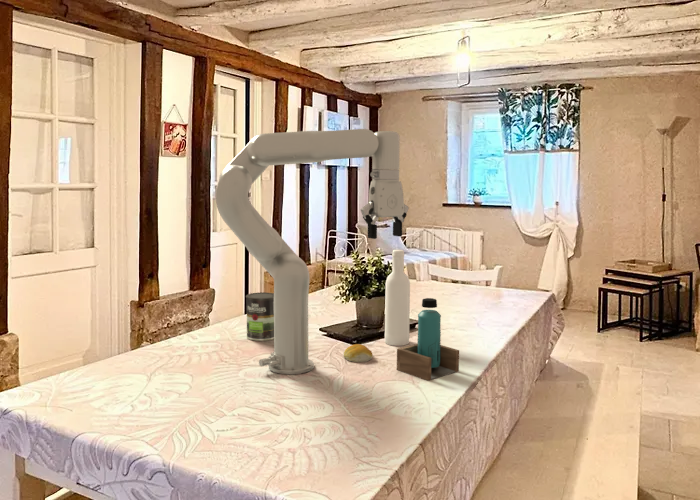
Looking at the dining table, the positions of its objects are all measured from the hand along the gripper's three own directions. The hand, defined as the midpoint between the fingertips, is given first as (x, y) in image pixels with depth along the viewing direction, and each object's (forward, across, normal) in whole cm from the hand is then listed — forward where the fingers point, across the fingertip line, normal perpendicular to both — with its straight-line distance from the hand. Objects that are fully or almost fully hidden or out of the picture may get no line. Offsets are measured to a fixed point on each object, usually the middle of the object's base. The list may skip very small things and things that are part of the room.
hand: (384, 237), depth 178 cm
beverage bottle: (+36, +4, -14) cm, 39 cm away
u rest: (+36, +4, -14) cm, 39 cm away
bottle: (+36, +17, +12) cm, 42 cm away
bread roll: (+37, -3, +7) cm, 38 cm away
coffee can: (+36, -13, +45) cm, 59 cm away
